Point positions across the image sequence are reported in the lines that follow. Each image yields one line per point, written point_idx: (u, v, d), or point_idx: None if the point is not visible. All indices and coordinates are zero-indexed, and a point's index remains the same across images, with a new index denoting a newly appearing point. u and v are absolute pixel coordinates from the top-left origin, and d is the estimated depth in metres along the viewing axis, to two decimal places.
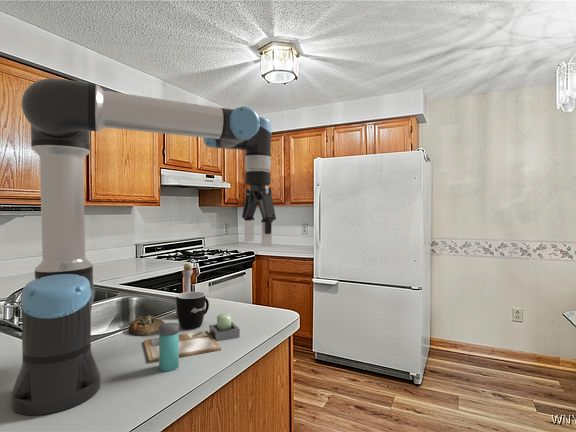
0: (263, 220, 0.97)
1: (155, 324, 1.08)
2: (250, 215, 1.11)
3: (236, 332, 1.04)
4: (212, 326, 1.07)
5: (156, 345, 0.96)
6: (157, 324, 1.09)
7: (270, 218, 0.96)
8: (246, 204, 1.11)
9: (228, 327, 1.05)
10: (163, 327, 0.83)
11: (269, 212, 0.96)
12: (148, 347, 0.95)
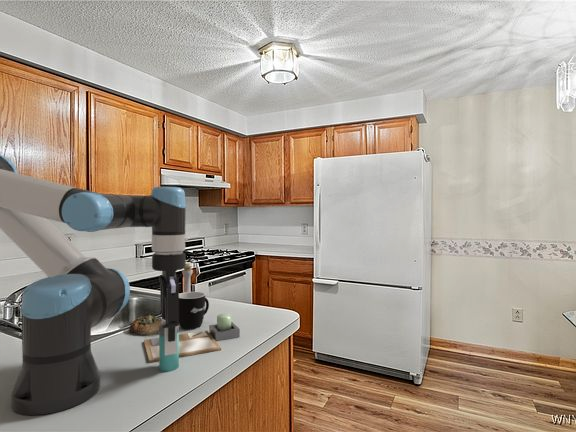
0: (164, 327, 0.80)
1: (156, 324, 1.08)
2: None
3: (236, 332, 1.04)
4: (212, 326, 1.07)
5: (156, 345, 0.96)
6: (158, 324, 1.09)
7: (171, 326, 0.79)
8: (162, 294, 0.88)
9: (228, 327, 1.05)
10: None
11: (171, 318, 0.79)
12: (148, 347, 0.95)
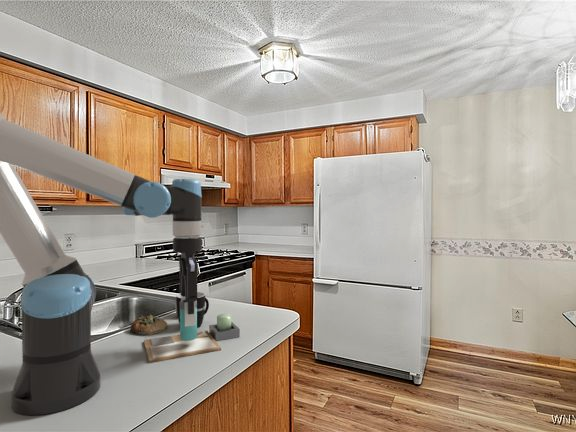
0: (184, 301, 0.92)
1: (157, 324, 1.09)
2: None
3: (236, 332, 1.04)
4: (212, 326, 1.07)
5: (156, 345, 0.96)
6: (159, 324, 1.09)
7: (191, 300, 0.91)
8: (181, 274, 1.00)
9: (228, 327, 1.05)
10: None
11: (190, 294, 0.91)
12: (148, 347, 0.95)
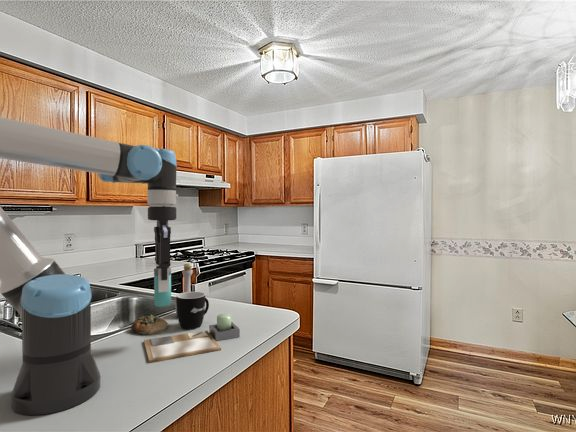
0: (157, 267, 0.95)
1: (157, 323, 1.09)
2: None
3: (236, 332, 1.04)
4: (212, 326, 1.07)
5: (156, 345, 0.96)
6: (159, 323, 1.09)
7: (163, 266, 0.94)
8: (156, 244, 1.03)
9: (228, 327, 1.05)
10: (157, 269, 0.98)
11: (163, 259, 0.93)
12: (148, 347, 0.95)
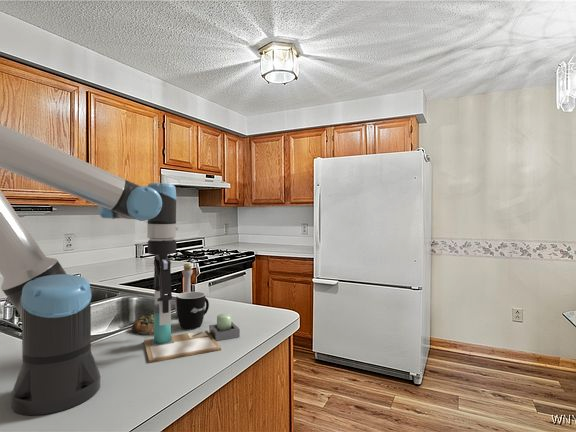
0: (159, 299, 0.92)
1: None
2: None
3: (236, 332, 1.04)
4: (212, 326, 1.07)
5: (156, 345, 0.96)
6: None
7: (165, 298, 0.91)
8: (156, 272, 1.04)
9: (228, 327, 1.05)
10: (157, 306, 0.98)
11: (165, 291, 0.91)
12: (148, 347, 0.95)
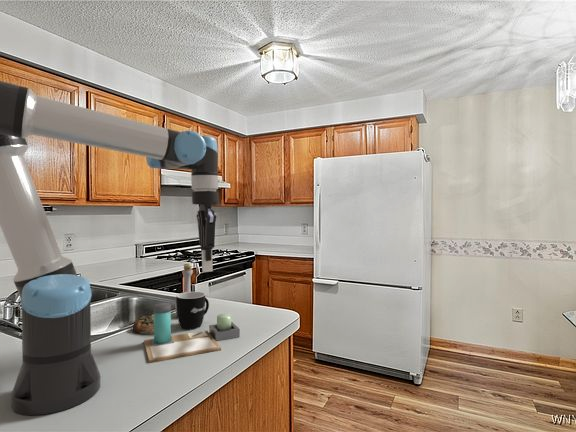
0: (202, 249, 1.02)
1: None
2: None
3: (236, 332, 1.04)
4: (212, 326, 1.07)
5: (156, 345, 0.96)
6: None
7: (208, 247, 1.01)
8: (200, 229, 1.06)
9: (228, 327, 1.05)
10: (157, 306, 0.98)
11: (208, 242, 1.00)
12: (148, 347, 0.95)
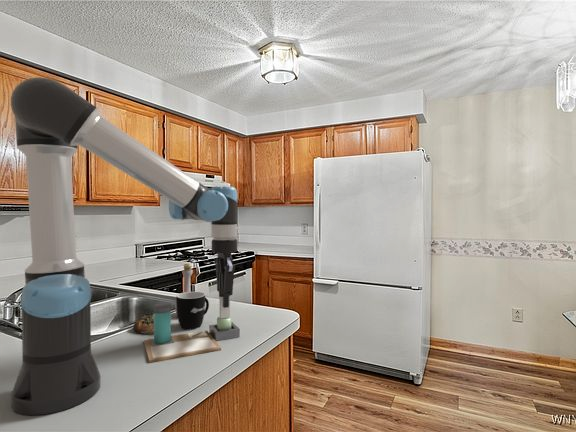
0: (220, 296, 1.04)
1: None
2: None
3: (236, 332, 1.04)
4: (212, 326, 1.07)
5: (156, 345, 0.96)
6: None
7: (226, 295, 1.03)
8: (218, 274, 1.09)
9: (228, 329, 1.05)
10: (157, 306, 0.98)
11: (227, 290, 1.02)
12: (148, 347, 0.95)
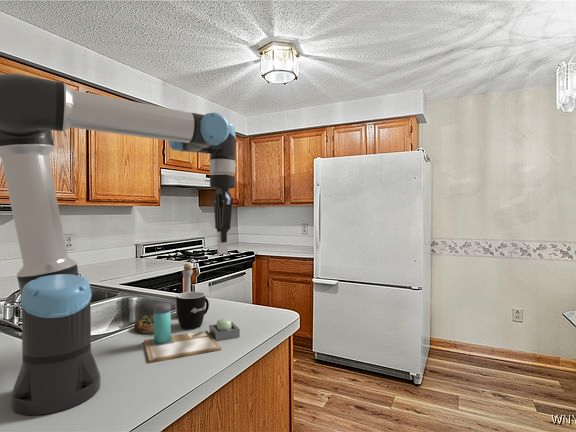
0: (218, 231, 1.05)
1: None
2: None
3: (236, 332, 1.04)
4: (212, 326, 1.07)
5: (156, 345, 0.96)
6: None
7: (224, 229, 1.04)
8: (216, 212, 1.10)
9: None
10: (157, 306, 0.98)
11: (225, 223, 1.04)
12: (148, 347, 0.95)
